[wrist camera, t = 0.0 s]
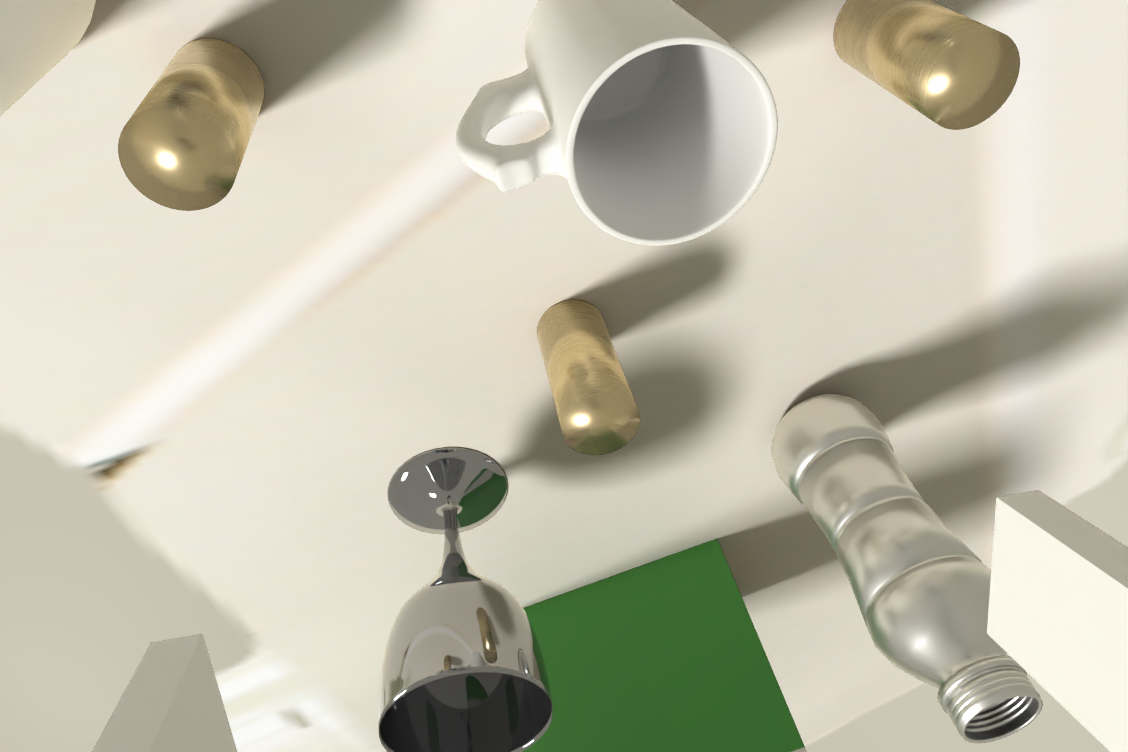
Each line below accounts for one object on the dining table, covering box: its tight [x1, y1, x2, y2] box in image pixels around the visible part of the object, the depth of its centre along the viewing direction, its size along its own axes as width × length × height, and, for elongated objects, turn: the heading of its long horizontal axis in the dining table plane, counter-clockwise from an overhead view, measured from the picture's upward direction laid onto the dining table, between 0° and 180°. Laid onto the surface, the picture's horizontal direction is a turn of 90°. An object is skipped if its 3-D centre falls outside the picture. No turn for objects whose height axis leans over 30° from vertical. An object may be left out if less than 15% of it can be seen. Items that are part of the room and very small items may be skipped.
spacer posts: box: [118, 0, 1020, 455], centre depth 32 cm, size 24×24×8 cm
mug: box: [456, 0, 778, 246], centre depth 30 cm, size 10×7×12 cm, turn 102°
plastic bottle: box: [771, 394, 1043, 743], centre depth 43 cm, size 6×7×20 cm
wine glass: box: [378, 447, 553, 752], centre depth 43 cm, size 8×8×15 cm
